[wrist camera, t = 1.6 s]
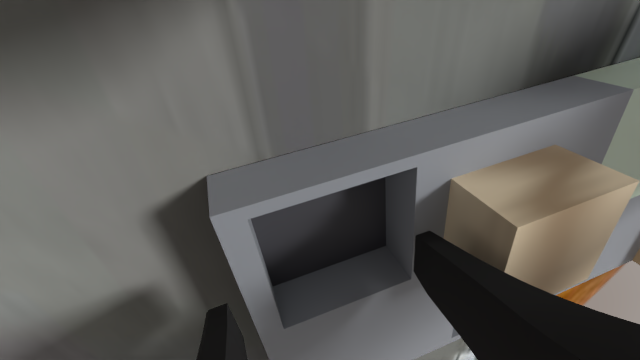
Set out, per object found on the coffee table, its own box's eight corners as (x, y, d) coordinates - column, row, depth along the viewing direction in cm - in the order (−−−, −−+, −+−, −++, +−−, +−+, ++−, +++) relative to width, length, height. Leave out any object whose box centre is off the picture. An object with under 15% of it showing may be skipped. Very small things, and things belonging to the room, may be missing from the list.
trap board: (704, 39, 17) (828, 52, 13) (605, 233, 24) (668, 270, 21) (206, 176, 11) (211, 251, 8) (281, 369, 19) (299, 447, 16)
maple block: (555, 144, 13) (639, 180, 10) (526, 233, 16) (587, 279, 13) (450, 178, 12) (517, 227, 9) (439, 267, 15) (489, 323, 12)
